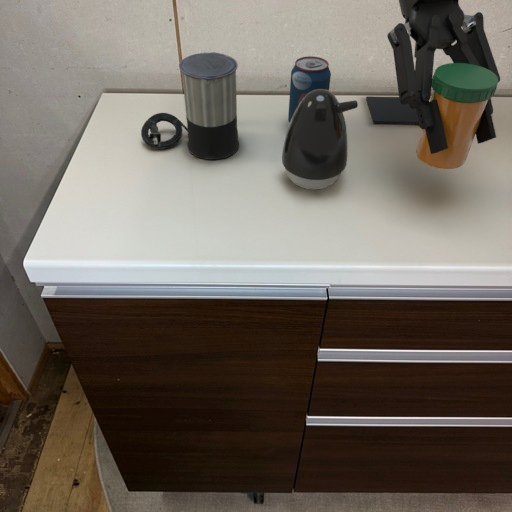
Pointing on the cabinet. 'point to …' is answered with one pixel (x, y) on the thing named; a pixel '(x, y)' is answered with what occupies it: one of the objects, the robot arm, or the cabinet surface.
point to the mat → (391, 111)
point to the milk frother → (203, 108)
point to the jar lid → (464, 82)
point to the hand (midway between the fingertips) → (463, 145)
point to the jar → (452, 132)
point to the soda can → (307, 79)
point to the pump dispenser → (317, 140)
